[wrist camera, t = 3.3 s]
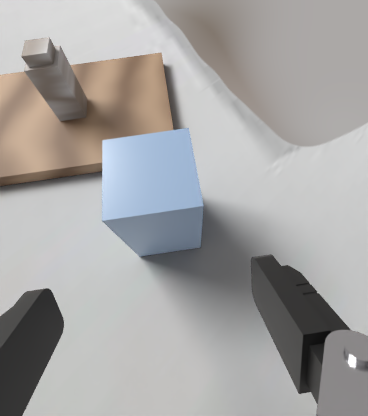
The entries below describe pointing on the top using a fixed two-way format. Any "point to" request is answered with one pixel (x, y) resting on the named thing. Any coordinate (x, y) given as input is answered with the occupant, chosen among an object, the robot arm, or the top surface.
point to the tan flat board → (75, 111)
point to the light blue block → (152, 192)
